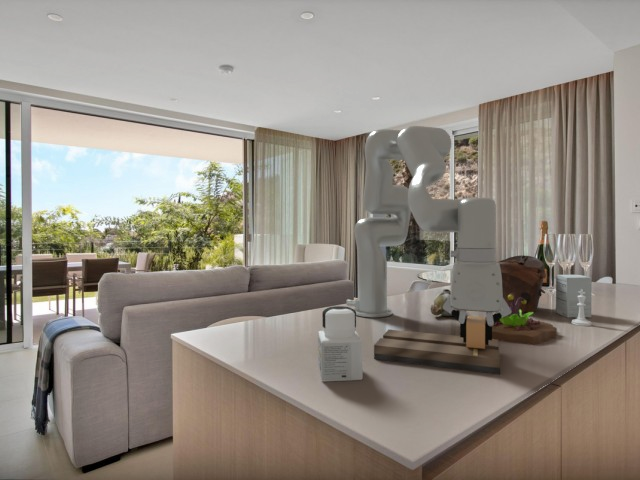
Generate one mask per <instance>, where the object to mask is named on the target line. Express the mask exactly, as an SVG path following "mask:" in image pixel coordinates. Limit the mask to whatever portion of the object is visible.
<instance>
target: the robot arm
mask: <svg viewBox="0 0 640 480" xmlns="http://www.w3.org/2000/svg"><path fill="white" fill-rule="evenodd" d="M451 148H452V139H451V136H450V134H449V133H448V131H446V129H443V128H441V127H433V126H424V125H423V126H422V125H411V126H408V127H405V128H404V129H401V130H399V129H377V130H374V131H372V132H371V133H369V135H368V136H367V138H366V141H365V144H364V158H365V166H366V174H365V179H364V186H363V187H364V190H363V195H362V207H363V210H364V211H365V212H366V213H367V214H370V215H390V217H377V216H376V217H373V216H372V217H364V218H361V219H359V220H358V221H356V223H355V225H354V229H353V230H354V238H355V244H356V250H357V251H356V254H357V299H346V301H345V305H346V306H347V307H354V308H353V309H354V310H355V311H356V316H358V317H363V318H385V317H389V316H391V315H392V313H393V310H392V309H391V308H388V260H387V257H386V255H385V253H384V252H383V249H381V247H398V246H401V245H403V244H404V243H405V242H406V240H407V237H408V232H409V226H410V220H411V215H412V217H413V219H414V221H415V223H416V224H417V226H418V227H419V228H420V229H422V230H423V231H425V232H427V233H457V249H454V250H450V257H451V258H455V259H456V260H457V261H456V262H455V261H454V262H453V265H452V271H451V280H450V291H451V295H450V296H449V298H448V299H447V301H446V302H445V304H444V305H443V309H444V310H446V311H447V312H449V313H451V314H452V315H453V318H455V319H456V321H458V323H459V336H460V337H462V338H463V343H466V322H467V318H466V315H467V311H468V312H482V313H485V316H486V317H487V321H486V324H485V344H486V345H488V340H492V326H493V325H494V324H495V323H496V322H497V321H498V320H499V319H501V318H502V317H505V316H507V315H509V314H511V312H512V311H511V309H510V307H509V306H508V304H507V303H506V301H505V300H504V298H503V292H502V276H501V269H500V265H499V263H496V261H497V259H496V257H497V255H496V252H497V251H496V249H497V246H496V245H497V243H496V242H497V235H496V234H497V229H496V228H497V204H496V201H495V200H494V199H492V198H490V197H471V198H470V197H469V198H468V197H467V198H462V199H453V198H452V199H450V198H449V199H448V198H447V199H445V198H432V197H433V196H431V194H430V193H429V190H428V189H427V188H428V187H430V186H432V185H434V184H435V183H437V182H438V181H440V180H441V179H442V178H443V177H444V175H445V174H446V172H447V163H446V162H445V160H444V159H445V158H446V157H447V156H448V155H449V154H450V152H451ZM390 160H394V161H395V160H397V161H404V163H405V164H406V167H407V169H408V170H409V173H410V175H411V176H412V178H411V180H410V183H409V186H408V187H407V186H405V185H400V184H393V182H394V173H395V172H394V168H393V165H392V163H391V162H390ZM501 309H502V310H501ZM458 310H460V312H459V311H458ZM498 311H499V312H498ZM493 313H494V314H493ZM486 317H485V318H486Z"/></svg>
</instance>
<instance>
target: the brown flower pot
mask: <svg viewBox="0 0 640 480" xmlns="http://www.w3.org/2000/svg"><path fill="white" fill-rule="evenodd" d="M496 263H499V265H500V269H501V276H502V292H503V298H504V300H505V301H506V302H507V303H508V304H509V305H510V306H511V304H512V303H511V302H512V300H509V299H508V295H509V294H511V293H514V296H515V302H516V301H517V299H518V298H520V297H522V298H523V299H525V300H526V304H522V302H521V300H520V301H519V309H521V312H522V313H528V312H536V311H537V310H538V308H539V304H540V303H539V302H540V298H541V297H542V293H543V294H546V291H545V290H544V289H542V288H543V282H544V279H546V277H547V274H546V269H545V264H544V262H543V261H542V260H541V259H539V258H538V257H535V256H532V255H531V256H530V255H515V256H514V255H513V256H510V257H507V258H505V259H502V260H500V261H497V262H496Z"/></svg>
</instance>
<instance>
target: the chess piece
mask: <svg viewBox="0 0 640 480" xmlns="http://www.w3.org/2000/svg"><path fill="white" fill-rule="evenodd" d="M578 293H580V295H579V296H577V297H578V299H579V302H580V303H578V304H577V305H579V306H580V307H579V314H578V317H576V318H575V319H572V320H571V324H572V325H575V326H581V327H591V326H592V322H591V321H590V320H588V319H587V317H585V315H584V307H583V306H586V304H584V300H585V298H586V297H585V296H583V294H585V292H583V290H582V289H581V290H580V291H578Z"/></svg>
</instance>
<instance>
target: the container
mask: <svg viewBox="0 0 640 480" xmlns="http://www.w3.org/2000/svg"><path fill="white" fill-rule="evenodd" d="M354 309H355V308H352V307H350V306H339V305H337V306H329V307H326V308H325V309H324V310H322V315H321V316H322V330H319V331H318V332H317V335H318V338H317V342H318V344H317V345H318V370H319V374H320V378H321V379H320V380H321V381H322V382H324V383H325V382H348V381H350V382H351V381H363V377H364V376H363V339H362V338H361V336H360V335H359V334H358V331H357V315H356V311H355V310H354Z"/></svg>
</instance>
